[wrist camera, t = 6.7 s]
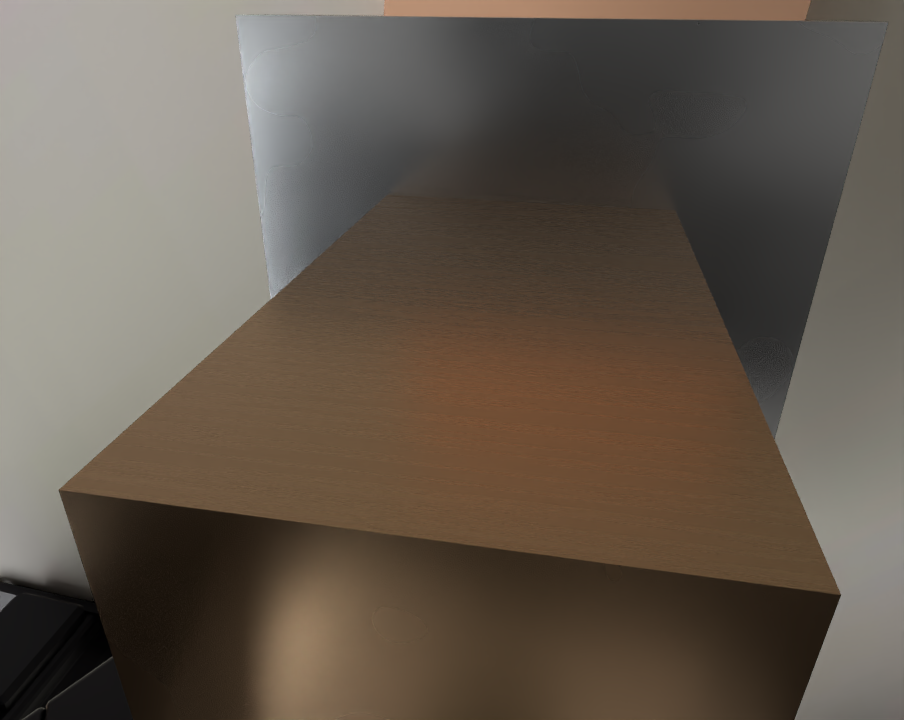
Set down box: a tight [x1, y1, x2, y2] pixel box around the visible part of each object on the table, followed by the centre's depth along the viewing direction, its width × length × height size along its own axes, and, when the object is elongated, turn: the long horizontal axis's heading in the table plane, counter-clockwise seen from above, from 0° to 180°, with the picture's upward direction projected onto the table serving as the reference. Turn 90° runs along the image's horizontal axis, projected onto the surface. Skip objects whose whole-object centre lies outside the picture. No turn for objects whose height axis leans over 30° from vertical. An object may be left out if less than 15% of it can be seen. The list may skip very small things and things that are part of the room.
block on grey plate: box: [59, 15, 888, 720], centre depth 8 cm, size 12×7×7 cm, turn 0°
